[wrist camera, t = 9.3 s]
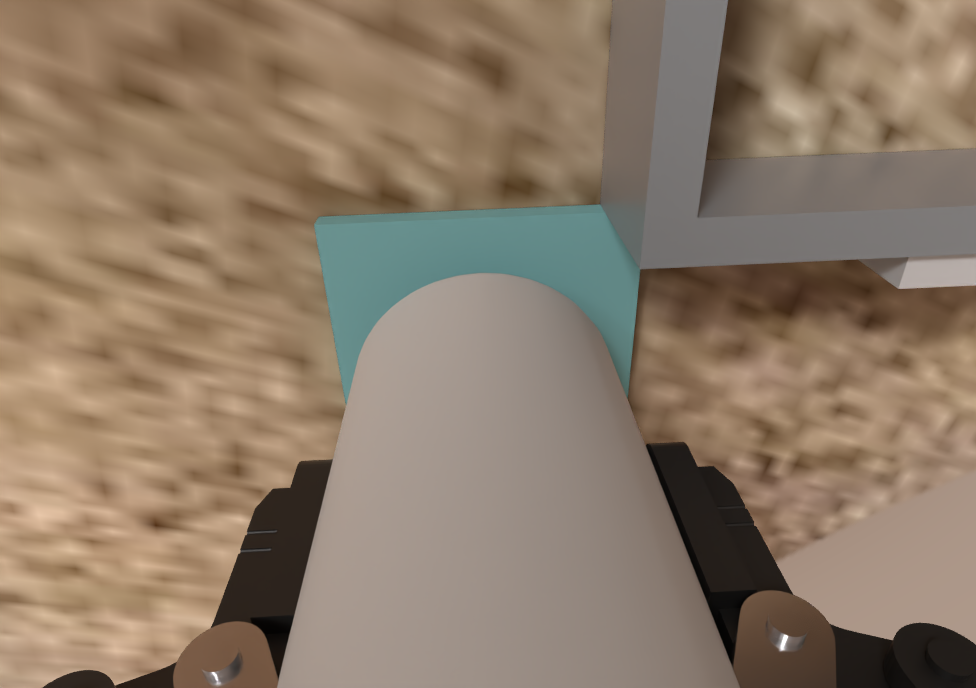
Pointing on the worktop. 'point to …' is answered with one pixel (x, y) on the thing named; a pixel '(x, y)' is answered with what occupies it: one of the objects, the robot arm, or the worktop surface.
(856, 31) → the worktop surface
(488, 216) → the pad
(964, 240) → the case
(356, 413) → the beverage can
